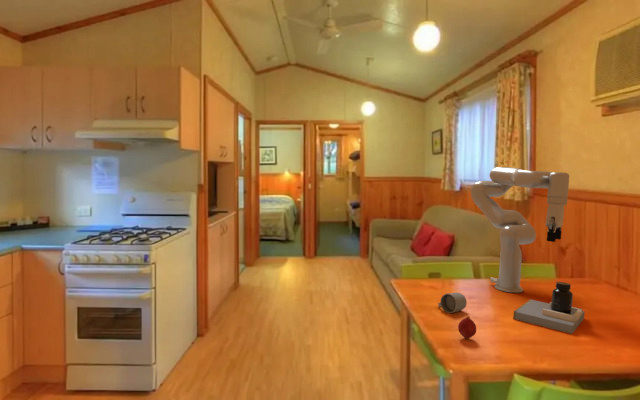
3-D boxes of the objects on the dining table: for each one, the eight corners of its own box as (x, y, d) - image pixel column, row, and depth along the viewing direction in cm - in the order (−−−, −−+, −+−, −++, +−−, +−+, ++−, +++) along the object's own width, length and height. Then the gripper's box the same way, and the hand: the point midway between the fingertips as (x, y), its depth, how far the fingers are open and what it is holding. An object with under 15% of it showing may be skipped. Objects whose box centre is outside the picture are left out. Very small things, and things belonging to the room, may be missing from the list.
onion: (454, 335, 143) (456, 312, 142) (470, 335, 143) (472, 312, 143) (461, 342, 137) (463, 319, 137) (478, 342, 138) (480, 319, 137)
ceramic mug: (467, 311, 168) (468, 293, 167) (455, 315, 163) (456, 296, 162) (445, 304, 176) (446, 287, 175) (433, 308, 171) (434, 290, 171)
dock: (513, 318, 162) (514, 306, 161) (529, 306, 178) (530, 294, 177) (572, 333, 148) (573, 320, 148) (584, 318, 165) (585, 306, 164)
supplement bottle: (574, 317, 156) (576, 286, 155) (554, 315, 158) (556, 284, 157) (567, 311, 163) (569, 281, 162) (548, 309, 164) (550, 280, 164)
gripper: (552, 199, 187) (549, 237, 189) (542, 200, 174) (538, 241, 176) (571, 200, 182) (568, 239, 184) (562, 202, 169) (558, 243, 171)
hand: (553, 240), depth 180 cm, fingers open, 9 cm apart
